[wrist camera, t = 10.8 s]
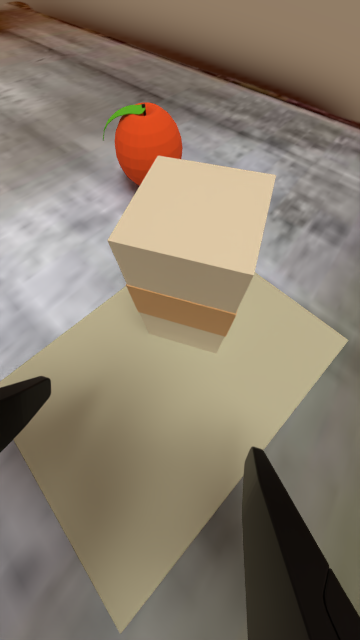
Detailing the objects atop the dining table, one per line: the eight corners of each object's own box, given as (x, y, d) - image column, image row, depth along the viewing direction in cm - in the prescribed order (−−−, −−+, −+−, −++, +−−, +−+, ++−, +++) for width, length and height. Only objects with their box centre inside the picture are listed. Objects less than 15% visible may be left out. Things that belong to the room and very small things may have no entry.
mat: (123, 623, 11) (120, 633, 11) (-7, 392, 16) (-13, 391, 16) (343, 342, 17) (348, 340, 17) (198, 235, 22) (198, 231, 22)
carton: (216, 354, 16) (254, 276, 7) (148, 334, 17) (105, 241, 8) (232, 293, 19) (277, 174, 9) (170, 277, 19) (157, 154, 10)
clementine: (113, 204, 24) (87, 128, 18) (118, 166, 27) (96, 88, 21) (184, 200, 24) (183, 122, 18) (181, 162, 27) (180, 83, 21)
